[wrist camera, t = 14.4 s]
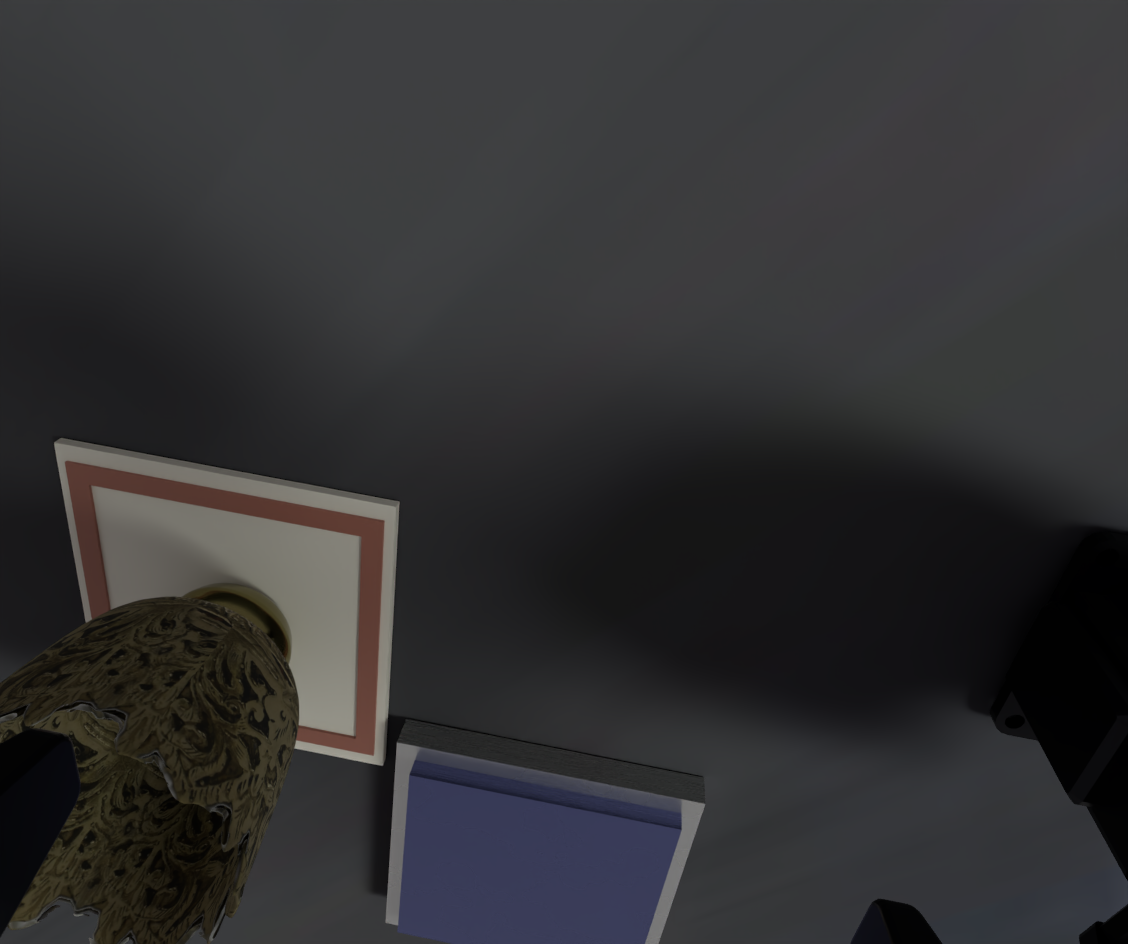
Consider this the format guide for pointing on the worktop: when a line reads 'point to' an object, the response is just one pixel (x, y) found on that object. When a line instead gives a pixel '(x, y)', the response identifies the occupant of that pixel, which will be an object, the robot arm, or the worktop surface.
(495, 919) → the ink pad
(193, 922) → the ornate bronze cup
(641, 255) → the worktop surface
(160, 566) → the marked card
